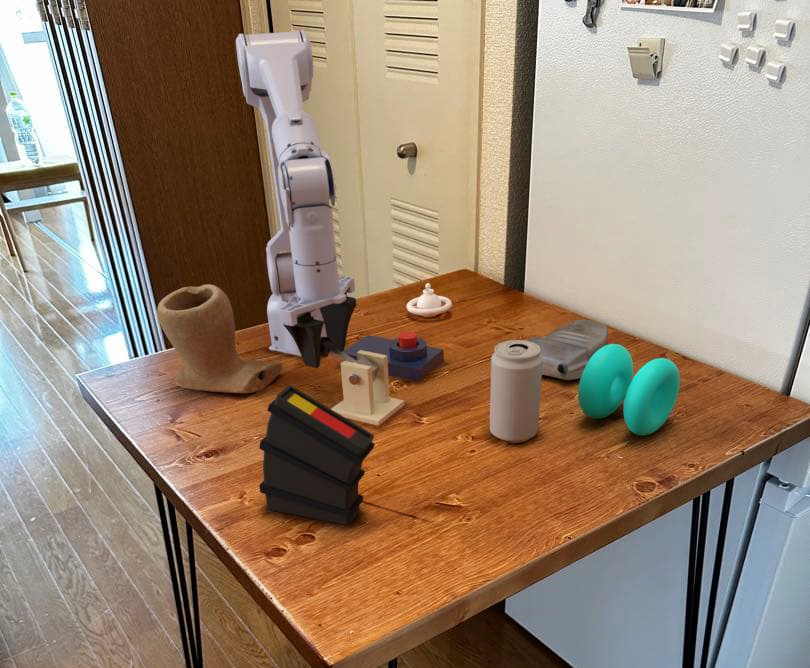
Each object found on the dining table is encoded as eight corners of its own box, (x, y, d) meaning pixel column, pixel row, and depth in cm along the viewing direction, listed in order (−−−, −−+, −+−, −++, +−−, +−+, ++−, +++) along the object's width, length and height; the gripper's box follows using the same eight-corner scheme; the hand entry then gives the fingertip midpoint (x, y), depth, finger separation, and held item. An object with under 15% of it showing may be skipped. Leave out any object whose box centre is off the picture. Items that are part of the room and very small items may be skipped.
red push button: (395, 347, 122) (394, 336, 121) (404, 341, 124) (404, 330, 123) (411, 351, 121) (411, 339, 119) (420, 344, 122) (420, 333, 121)
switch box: (330, 415, 112) (324, 363, 108) (357, 395, 117) (353, 345, 113) (378, 427, 109) (375, 374, 104) (404, 406, 114) (402, 354, 109)
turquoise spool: (613, 399, 113) (621, 331, 107) (677, 422, 107) (689, 351, 101) (570, 425, 107) (577, 355, 101) (635, 450, 101) (646, 377, 96)
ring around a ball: (443, 324, 138) (458, 308, 144) (442, 292, 134) (457, 277, 140) (400, 322, 140) (416, 306, 146) (398, 289, 137) (414, 275, 143)
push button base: (341, 366, 126) (338, 342, 123) (368, 348, 131) (366, 324, 129) (418, 383, 120) (417, 358, 117) (443, 363, 125) (443, 338, 123)
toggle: (307, 354, 111) (311, 337, 109) (319, 346, 113) (323, 330, 111) (365, 388, 109) (370, 372, 107) (376, 380, 111) (381, 364, 109)
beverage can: (542, 425, 108) (548, 340, 101) (532, 448, 103) (537, 360, 96) (495, 419, 109) (498, 335, 102) (484, 442, 105) (485, 355, 98)
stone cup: (158, 398, 119) (134, 299, 110) (201, 365, 128) (182, 271, 119) (248, 411, 115) (230, 308, 106) (286, 376, 123) (273, 279, 115)
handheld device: (626, 342, 129) (629, 314, 126) (572, 390, 116) (575, 360, 113) (571, 330, 134) (573, 303, 131) (513, 376, 121) (515, 347, 118)
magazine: (254, 478, 96) (288, 381, 86) (348, 535, 96) (393, 444, 86) (238, 494, 94) (271, 396, 83) (334, 553, 93) (379, 461, 83)
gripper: (306, 280, 97) (318, 383, 105) (370, 247, 107) (376, 343, 115) (260, 272, 100) (275, 373, 108) (327, 241, 110) (336, 335, 118)
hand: (324, 357), depth 112 cm, fingers open, 5 cm apart
